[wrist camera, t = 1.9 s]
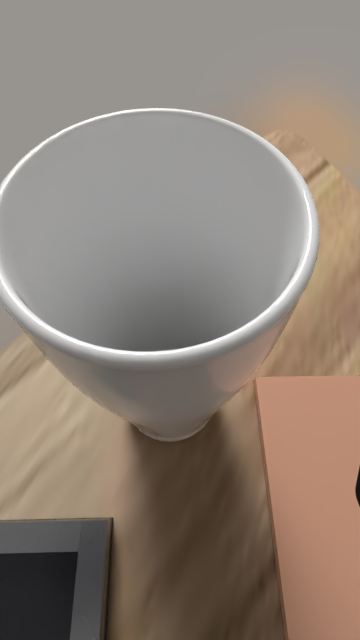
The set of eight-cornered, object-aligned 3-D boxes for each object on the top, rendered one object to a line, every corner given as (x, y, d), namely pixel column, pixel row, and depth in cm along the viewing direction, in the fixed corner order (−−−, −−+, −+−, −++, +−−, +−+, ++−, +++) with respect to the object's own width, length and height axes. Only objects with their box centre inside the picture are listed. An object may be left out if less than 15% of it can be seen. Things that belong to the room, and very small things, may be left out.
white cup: (209, 332, 22) (256, 84, 9) (243, 439, 19) (396, 318, 6) (105, 356, 21) (-23, 126, 8) (123, 471, 18) (-32, 420, 5)
